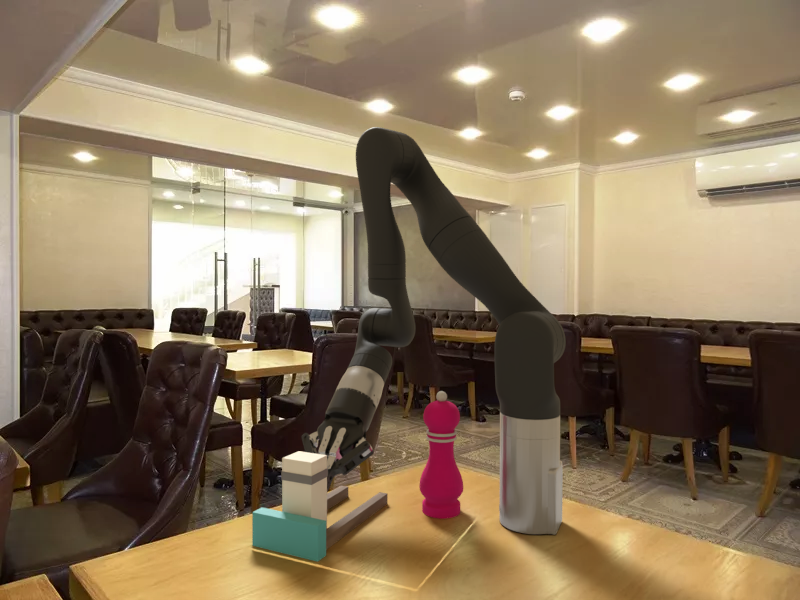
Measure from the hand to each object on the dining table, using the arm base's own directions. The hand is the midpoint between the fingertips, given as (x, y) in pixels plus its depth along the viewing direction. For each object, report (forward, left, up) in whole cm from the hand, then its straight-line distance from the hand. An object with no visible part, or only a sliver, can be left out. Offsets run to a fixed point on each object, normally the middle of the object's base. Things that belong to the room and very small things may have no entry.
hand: (315, 495), depth 83 cm
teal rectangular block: (0, +6, -6) cm, 9 cm away
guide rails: (0, -4, -6) cm, 7 cm away
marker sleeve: (0, +3, -6) cm, 6 cm away
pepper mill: (-14, -16, -6) cm, 22 cm away
